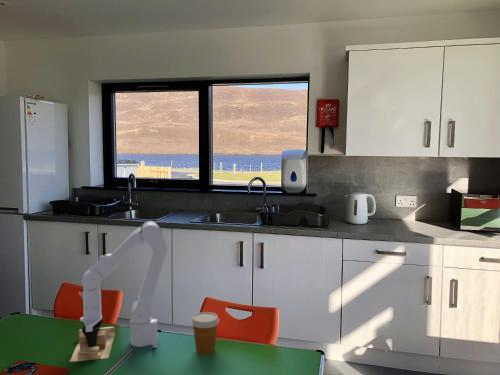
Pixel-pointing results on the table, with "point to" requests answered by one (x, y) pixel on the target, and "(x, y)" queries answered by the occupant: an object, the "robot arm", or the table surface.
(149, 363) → the table surface
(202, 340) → the disposable coffee cup
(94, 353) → the offcut stack
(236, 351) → the table surface
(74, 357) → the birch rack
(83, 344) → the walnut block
